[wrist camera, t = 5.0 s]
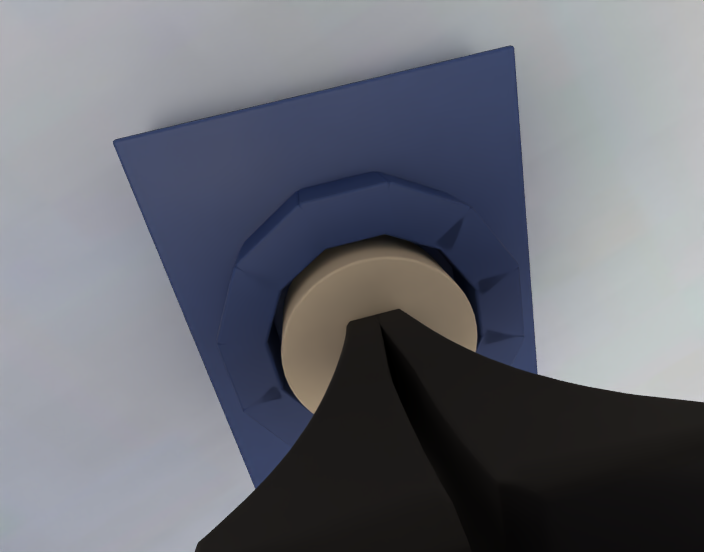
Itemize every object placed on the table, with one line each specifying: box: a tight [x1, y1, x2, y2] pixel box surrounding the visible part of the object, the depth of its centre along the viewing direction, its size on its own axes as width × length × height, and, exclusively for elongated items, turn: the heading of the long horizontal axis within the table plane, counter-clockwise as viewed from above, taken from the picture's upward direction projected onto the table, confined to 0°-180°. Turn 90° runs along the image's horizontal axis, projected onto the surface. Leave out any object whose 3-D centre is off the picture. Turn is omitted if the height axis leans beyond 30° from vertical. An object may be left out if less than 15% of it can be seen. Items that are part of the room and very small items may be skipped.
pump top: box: [281, 234, 477, 414], centre depth 11 cm, size 5×5×2 cm
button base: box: [113, 46, 537, 489], centre depth 13 cm, size 12×10×4 cm
